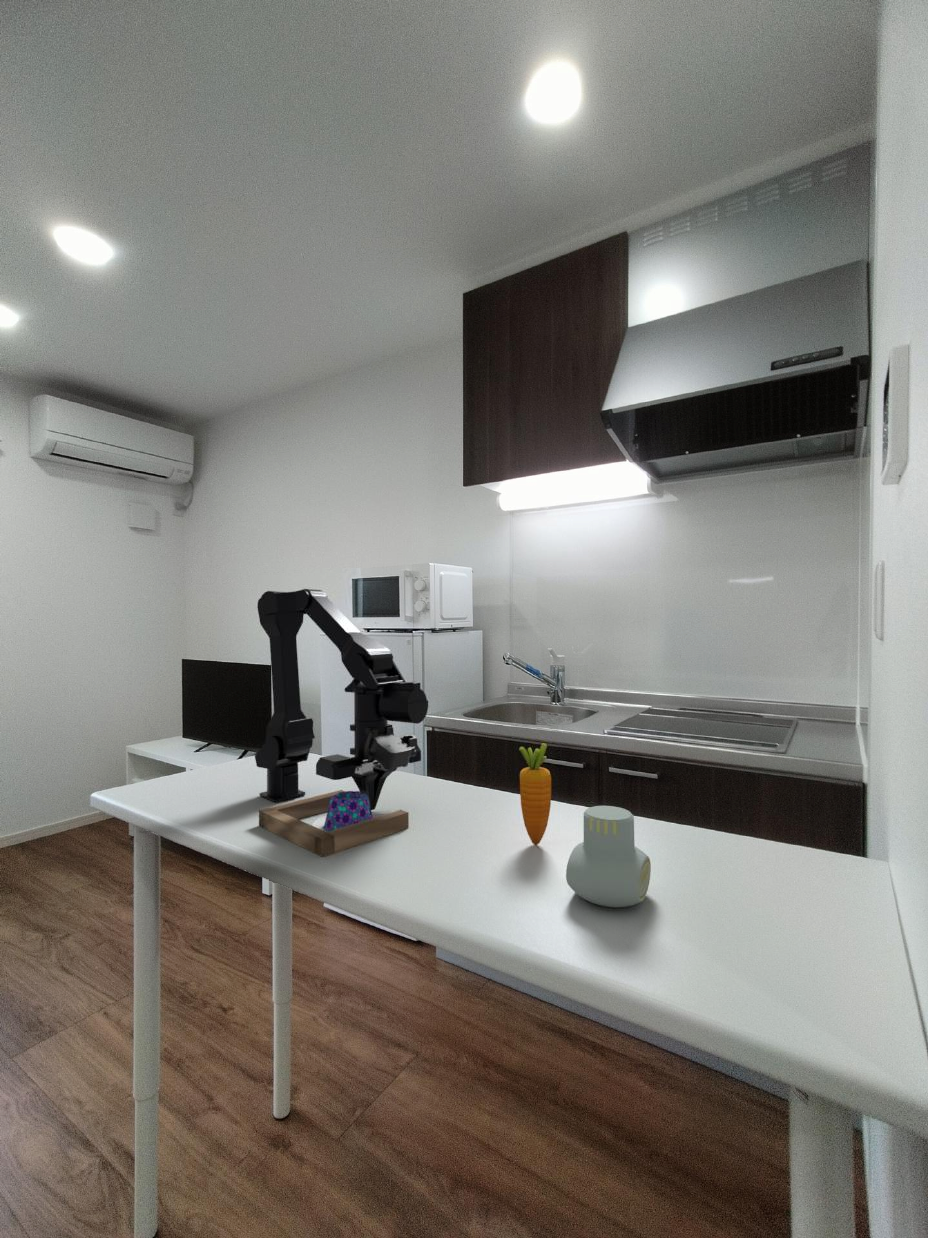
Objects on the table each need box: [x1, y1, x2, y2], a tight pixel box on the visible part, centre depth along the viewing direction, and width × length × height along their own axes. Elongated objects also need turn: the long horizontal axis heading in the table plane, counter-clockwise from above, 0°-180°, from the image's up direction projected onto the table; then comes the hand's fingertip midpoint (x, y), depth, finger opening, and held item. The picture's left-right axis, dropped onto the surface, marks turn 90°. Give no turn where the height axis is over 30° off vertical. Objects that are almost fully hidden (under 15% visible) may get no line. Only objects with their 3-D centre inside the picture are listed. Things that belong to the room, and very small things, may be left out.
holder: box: [258, 789, 410, 858], centre depth 92 cm, size 19×16×2 cm
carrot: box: [518, 742, 552, 846], centre depth 84 cm, size 5×5×15 cm
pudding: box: [311, 790, 382, 832], centre depth 93 cm, size 12×12×5 cm
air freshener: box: [565, 805, 652, 908], centre depth 68 cm, size 11×8×10 cm
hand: (371, 809), depth 98 cm, fingers closed
